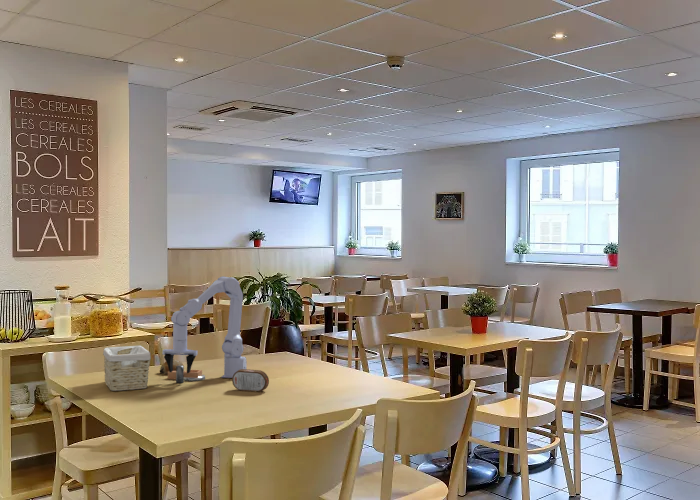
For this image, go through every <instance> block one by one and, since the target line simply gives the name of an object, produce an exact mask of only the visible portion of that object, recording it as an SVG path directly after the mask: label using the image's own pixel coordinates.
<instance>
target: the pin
mask: <svg viewBox="0 0 700 500" xmlns="http://www.w3.org/2000/svg"><path fill="white" fill-rule="evenodd" d="M184 371H185V366H184V364H183V365H178V366H176V379H175V383H176V384H184V382H185V381H184Z"/></svg>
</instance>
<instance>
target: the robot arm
mask: <svg viewBox="0 0 700 500" xmlns="http://www.w3.org/2000/svg"><path fill="white" fill-rule="evenodd" d="M218 293H225V294H226V296H228V298H230V300H229V311H228V321H227V322H228V323H227V325H228V326H227V333H226V335H225V336H224V341H223V343H222V344H221V349H222V352H223V353H224V359H223V362H224V367H223V369H224V370H223V373H224V374H223V375H221V376H220V377H221V378H227V379H229V378H230V379H232V377H233V375H234V373H235V372H237V371H238V370H240V369H247V365H248V364H247V358H246V356H242V354H243V353H244V345H243V338H242V337H241V325H242V311H243V301H244V300H243V299H244V294H243V293H244V292H243V291H242V289H241V287H240V282H239V280H238V279H236V278H235V277H232V276H230V277H228V276H220V277H218V278H217V279H216V280H214V281H213V283H211V285H209V286H208V287H207V288H206V289H205V290H204V291H203V292H202V293H201V294H200V295H199V296H198V297H197V298H191V299H190V298H189V299H188V300H187V303H185V305H183V306H181V307H180V308H179V310H176V311H174V312H173V314H172V316H171V317H170V320H171V322H172V324H173V325H172V326H173V328H172V329H173V330H172V349H171V348H169V349H167V348H166V349H162V353H161V354H162V355H163V358H164V360H165V362H167V365H168V368H169V372H172V371H173V359H174V357H175V356H179V355H180V356H185V357H186V359H185V360H186V371H187V373H189V372H190V370H192V366H193V363H194V361H195V359H196V357H197V356H198V351H199V350H198V349H197V350H195V349H194V350H193V349H188V324H189V323H190V320H191V319H192V318H193V317H194V316H195V315H196V314H197V313H199V312H200V310H202V308H203V304H205V303H206V302H207V301H208V300H210V299H211V298H212V297H213V296H215V295H216V294H218Z"/></svg>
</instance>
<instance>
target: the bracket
mask: <svg viewBox="0 0 700 500" xmlns="http://www.w3.org/2000/svg"><path fill="white" fill-rule="evenodd" d="M201 375H203V370H202V369H191V370H190V372H189V373H187V370H184V377H189V378H198V377H200V376H201ZM167 379H168V380H176V371H172V372H168V375H167Z"/></svg>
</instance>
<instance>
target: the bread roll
mask: <svg viewBox="0 0 700 500" xmlns="http://www.w3.org/2000/svg"><path fill="white" fill-rule="evenodd" d="M178 365H183V366H184V364H183V363H182V361H180V360H178V359H175V358H173V371H176V366H178ZM168 372H169V368H168V365H167V362H166V361H165V362H163V364H161V366H160V368H159V373H161V374H162V375H166V376H168Z"/></svg>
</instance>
